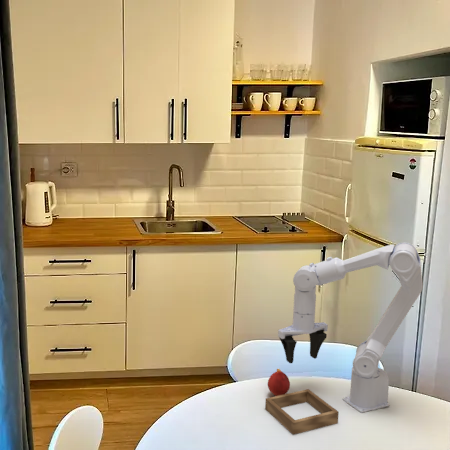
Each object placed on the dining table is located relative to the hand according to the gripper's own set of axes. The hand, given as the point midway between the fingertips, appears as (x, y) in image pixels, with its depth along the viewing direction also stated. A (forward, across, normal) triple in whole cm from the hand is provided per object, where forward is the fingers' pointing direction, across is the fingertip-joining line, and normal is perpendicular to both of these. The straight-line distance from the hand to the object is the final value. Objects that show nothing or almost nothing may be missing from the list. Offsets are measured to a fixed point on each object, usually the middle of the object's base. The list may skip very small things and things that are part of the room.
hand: (301, 359), depth 158 cm
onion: (+10, +7, 0) cm, 12 cm away
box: (+9, +7, +11) cm, 16 cm away
